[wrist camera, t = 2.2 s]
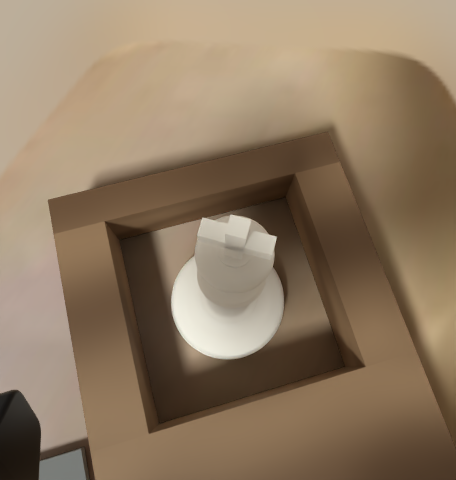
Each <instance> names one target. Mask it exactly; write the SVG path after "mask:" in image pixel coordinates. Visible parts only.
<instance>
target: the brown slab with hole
mask: <svg viewBox="0 0 456 480" xmlns="http://www.w3.org/2000/svg"><path fill="white" fill-rule="evenodd" d="M283 197H286V199H287V202H288V205H289V208H290V211H291V213H292V216H293V219H294V222H295V225H296V228H297V231H298V233H299V236H300V239H301V242H302V245H303V248H304V251H305V253H306V256H307V259H308V262H309V265H310V268H311V270H312V273H313V276H314V279H315V282H316V285H317V288H318V290H319V293H320V296H321V299H322V302H323V305H324V307H325V310H326V313H327V316H328V319H329V322H330V325H331V327H332V330H333V333H334V336H335V339H336V342H337V345H338V347H339V350H340V353H341V356H342V359H343V362H344V364H345V367H342V368H339V369H336V370H332V371H329V372H326V373H323V374H319V375H316V376H313V377H310V378H306V379H303V380H300V381H297V382H293V383H290V384H287V385H284V386H280V387H277V388H274V389H271V390H267V391H264V392H261V393H258V394H254V395H251V396H248V397H245V398H241V399H238V400H235V401H232V402H228V403H225V404H222V405H219V406H215V407H212V408H209V409H206V410H202V411H199V412H196V413H193V414H189V415H186V416H183V417H180V418H176V419H173V420H170V421H167V422H163V423H160V424H159V421H158V417H157V412H156V408H155V403H154V398H153V394H152V389H151V384H150V380H149V375H148V371H147V366H146V361H145V357H144V352H143V348H142V343H141V338H140V334H139V329H138V324H137V320H136V315H135V311H134V306H133V301H132V297H131V292H130V288H129V283H128V278H127V274H126V269H125V264H124V260H123V255H122V251H121V246H120V241H119V240H121V239H124V238H128V237H132V236H136V235H140V234H144V233H148V232H152V231H155V230H159V229H163V228H167V227H171V226H175V225H179V224H183V223H186V222H190V221H194V220H198V219H202V217H203V218H206V217H210V216H214V215H217V214H221V213H225V212H229V211H233V210H237V209H241V208H245V207H248V206H252V205H256V204H260V203H264V202H268V201H272V200H276V199H279V198H283ZM48 204H49V209H50V215H51V221H52V227H53V233H54V239H55V245H56V251H57V257H58V263H59V269H60V275H61V281H62V286H63V292H64V298H65V304H66V310H67V316H68V322H69V328H70V334H71V340H72V346H73V352H74V358H75V363H76V369H77V375H78V381H79V387H80V393H81V399H82V405H83V411H84V417H85V423H86V429H87V435H88V441H89V446H90V452H91V458H92V464H93V470H94V476H95V480H456V448H455V445H454V443H453V440H452V438H451V435H450V433H449V431H448V428H447V426H446V423H445V421H444V418H443V416H442V413H441V411H440V408H439V406H438V403H437V401H436V398H435V396H434V393H433V391H432V388H431V386H430V383H429V381H428V378H427V376H426V374H425V371H424V369H423V366H422V364H421V361H420V359H419V356H418V354H417V351H416V349H415V346H414V344H413V341H412V339H411V336H410V334H409V331H408V329H407V326H406V324H405V321H404V319H403V316H402V314H401V312H400V309H399V307H398V304H397V302H396V299H395V297H394V294H393V292H392V289H391V287H390V284H389V282H388V279H387V277H386V274H385V272H384V269H383V267H382V264H381V262H380V259H379V257H378V255H377V252H376V250H375V247H374V245H373V242H372V240H371V237H370V235H369V232H368V230H367V227H366V225H365V222H364V220H363V217H362V215H361V212H360V210H359V207H358V205H357V202H356V200H355V198H354V195H353V193H352V190H351V188H350V185H349V183H348V180H347V178H346V175H345V173H344V170H343V168H342V165H341V163H340V160H339V158H338V155H337V153H336V150H335V148H334V145H333V143H332V141H331V138H330V136H329V133H328V132H324V133H320V134H316V135H312V136H308V137H304V138H300V139H296V140H292V141H287V142H283V143H279V144H275V145H271V146H267V147H263V148H259V149H255V150H250V151H246V152H242V153H238V154H234V155H230V156H226V157H222V158H218V159H214V160H209V161H205V162H201V163H197V164H193V165H189V166H185V167H181V168H177V169H172V170H168V171H164V172H160V173H156V174H152V175H148V176H144V177H140V178H136V179H131V180H127V181H123V182H119V183H115V184H111V185H107V186H103V187H99V188H94V189H90V190H86V191H82V192H78V193H74V194H70V195H66V196H62V197H58V198H53V199H49V200H48Z"/></svg>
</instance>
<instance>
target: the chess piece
mask: <svg viewBox="0 0 456 480" xmlns="http://www.w3.org/2000/svg"><path fill="white" fill-rule="evenodd" d="M197 239H198V240H197V243H196V246H195V255H194V256H193V257H192V258H191V259H190V260H188V261H187V263H186V264H185V265H184V266H183V267H182V269H181V270H180V272H179V274H178V276H177V278H176V280H175V283H174V286H173V290H172V296H171V309H172V315H173V319H174V322H175V324H176V327H177V329H178V331H179V332H180V334H181V335H182V337H183V338H184V339H185V340H186V341H187V343H188V344H190V345H191V346H192V347H193V348H194V349H196V350H197V351H199V352H201V353H203V354H205V355H207V356H210V357H213V358H218V359H238V358H242V357H246V356H248V355H251V354H253V353H255V352H256V351H258V350H260V349H261V348H262V347H264V346H265V345H266V344H267V343H268V342H269V341H270V340H271V339H272V337H273V336H274V334H275V333H276V331H277V329H278V328H279V325H280V323H281V320H282V316H283V311H284V292H283V287H282V284H281V281H280V278H279V276H278V274H277V273H276V271H275V269H274V268H273V264H274V257H275V253H274V247H275V243H276V239H277V237H276V236H272V235H269V234H268V233H267V231H266V230H265V229H264V228H263V227H262V226H261V225H260V224H259V223H257V222H256V221H254V220H252V219H250V218H247V217H243V216H235V215H230V216H225V217H222V218H219V219H217V220H211V219H207V218H203V217H202V221H201V224H200V227H199V230H198V234H197Z"/></svg>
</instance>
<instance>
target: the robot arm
mask: <svg viewBox="0 0 456 480" xmlns="http://www.w3.org/2000/svg"><path fill="white" fill-rule="evenodd" d="M40 444H41V428H40V423H39V420H38V418H37V417H36V415H35V413H34V412H33V410H32V409H31V407H30V405H29V404H28V402H27V401H26V399H25V397H24V396H23V394H22V393H21V392H20V391H18V390H11V391H7V392H4V393H0V480H39V466H40Z"/></svg>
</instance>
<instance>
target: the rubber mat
mask: <svg viewBox="0 0 456 480" xmlns="http://www.w3.org/2000/svg"><path fill="white" fill-rule="evenodd" d="M39 480H90V478H89V472H88V466H87V460H86V454H85V448H84V447H82V448H79V449H76V450H73V451H69V452H66V453H63V454H60V455H56V456H53V457H50V458H47V459H43V460H40V466H39Z"/></svg>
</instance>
